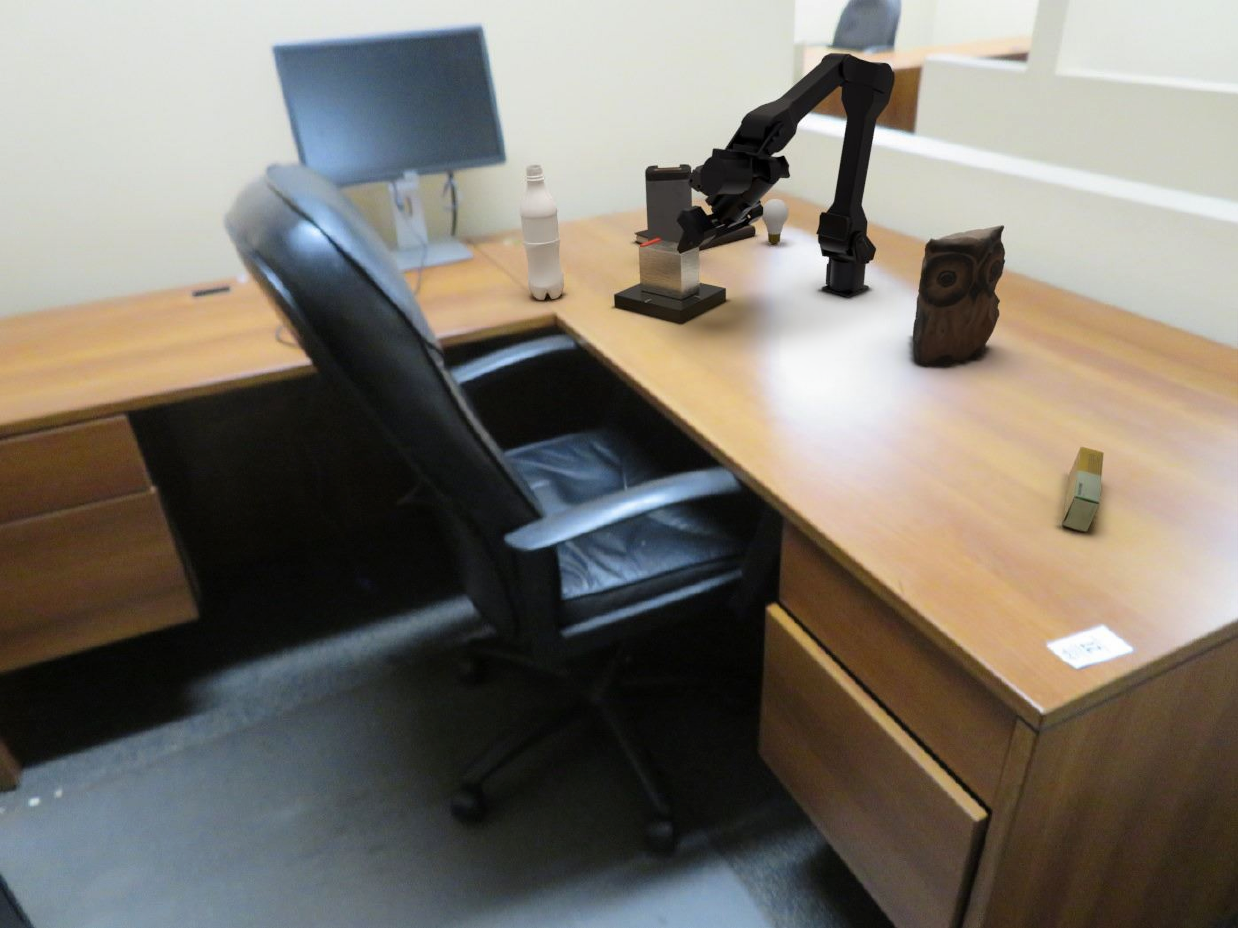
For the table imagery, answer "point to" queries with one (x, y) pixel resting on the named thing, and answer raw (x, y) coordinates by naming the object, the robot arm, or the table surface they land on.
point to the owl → (958, 297)
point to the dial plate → (670, 302)
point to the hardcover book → (733, 236)
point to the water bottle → (541, 237)
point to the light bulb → (775, 218)
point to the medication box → (1083, 490)
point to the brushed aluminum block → (668, 269)
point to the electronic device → (666, 200)
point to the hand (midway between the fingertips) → (694, 244)
